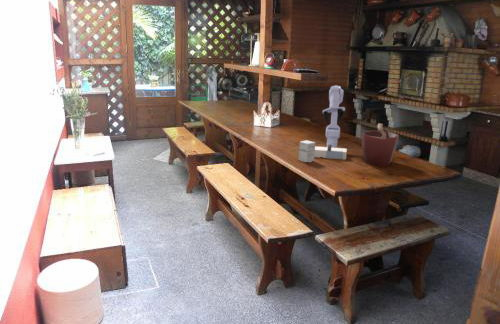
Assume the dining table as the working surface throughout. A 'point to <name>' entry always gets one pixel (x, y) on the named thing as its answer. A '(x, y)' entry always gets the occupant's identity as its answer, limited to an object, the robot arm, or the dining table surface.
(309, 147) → the supplement box
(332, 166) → the dining table surface
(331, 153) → the flap
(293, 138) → the dining table surface
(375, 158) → the bucket
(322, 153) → the carton
